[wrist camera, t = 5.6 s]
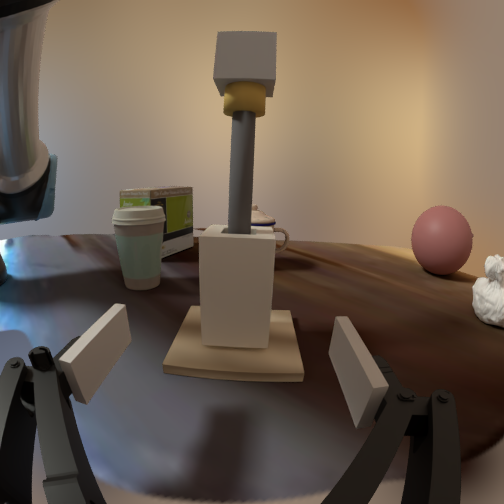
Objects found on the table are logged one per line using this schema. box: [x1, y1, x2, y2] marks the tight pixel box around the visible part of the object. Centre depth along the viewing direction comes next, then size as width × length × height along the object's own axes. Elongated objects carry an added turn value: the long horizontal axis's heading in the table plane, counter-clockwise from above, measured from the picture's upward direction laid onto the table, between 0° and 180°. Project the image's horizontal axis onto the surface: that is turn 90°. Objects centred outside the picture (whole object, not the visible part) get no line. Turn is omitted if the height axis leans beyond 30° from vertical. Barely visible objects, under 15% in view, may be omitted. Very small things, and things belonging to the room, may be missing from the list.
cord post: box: [213, 31, 277, 235], centre depth 23 cm, size 5×5×28 cm
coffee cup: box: [112, 206, 166, 290], centre depth 39 cm, size 8×8×12 cm
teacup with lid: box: [251, 204, 289, 253], centre depth 53 cm, size 12×9×12 cm
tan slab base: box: [162, 306, 304, 382], centre depth 27 cm, size 12×12×1 cm
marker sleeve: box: [199, 225, 276, 348], centre depth 25 cm, size 6×6×10 cm
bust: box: [472, 254, 504, 328], centre depth 27 cm, size 12×8×11 cm
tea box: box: [120, 186, 193, 258], centre depth 59 cm, size 15×10×15 cm
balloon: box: [411, 206, 473, 275], centre depth 50 cm, size 15×20×15 cm
